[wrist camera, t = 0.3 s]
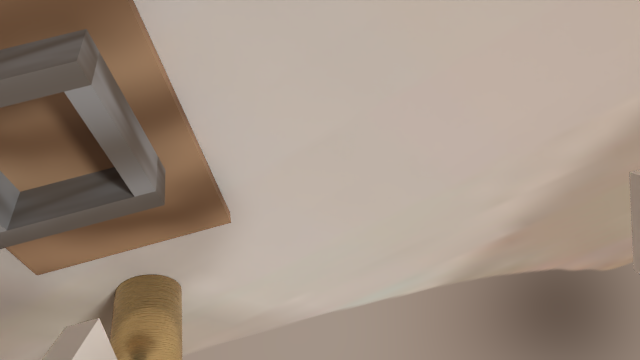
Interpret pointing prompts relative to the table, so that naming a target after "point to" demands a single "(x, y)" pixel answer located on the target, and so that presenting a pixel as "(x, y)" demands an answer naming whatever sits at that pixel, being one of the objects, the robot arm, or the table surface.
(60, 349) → the robot arm
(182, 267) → the table surface
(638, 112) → the table surface
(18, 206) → the wooden board with frame
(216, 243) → the table surface
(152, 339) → the brass fitting
